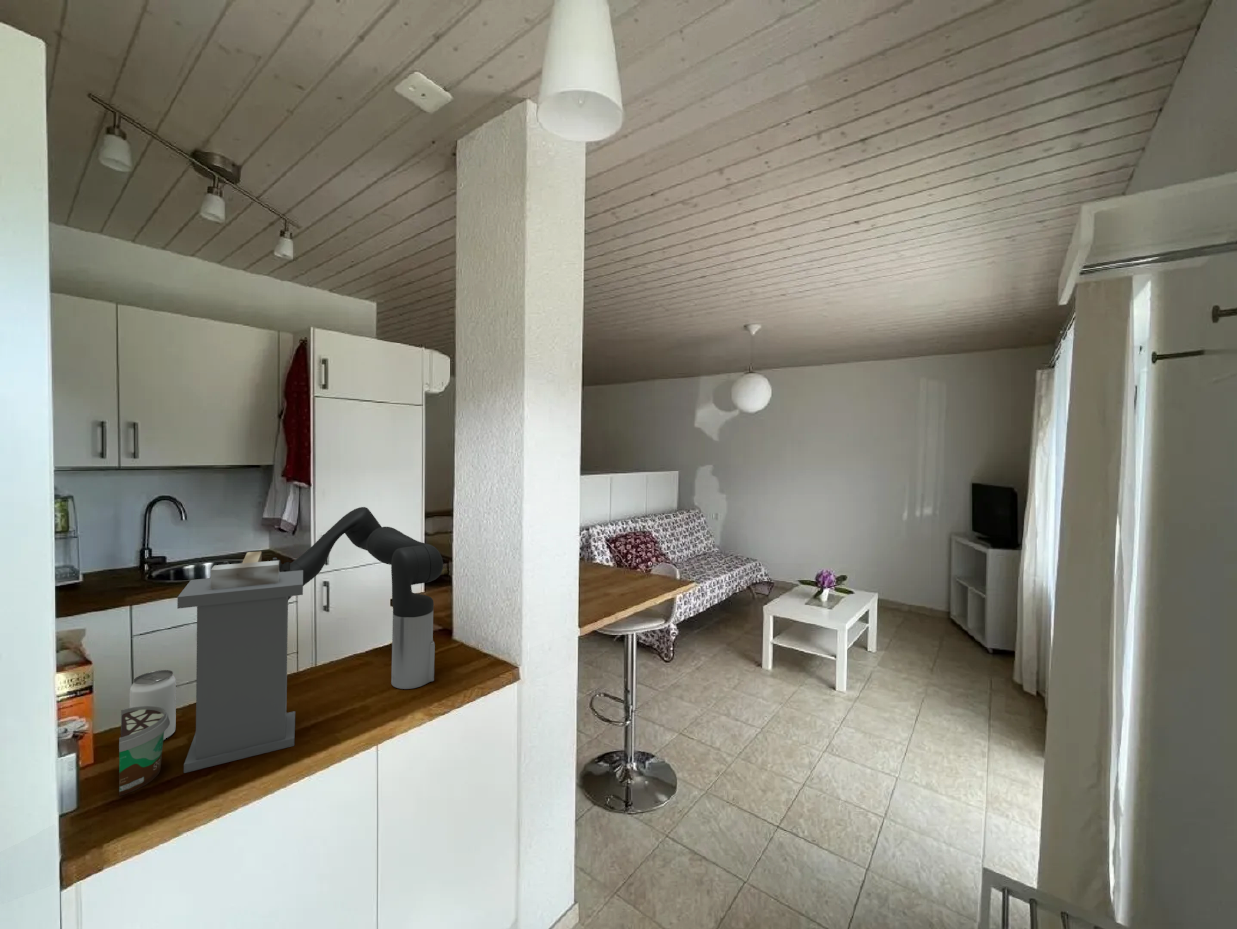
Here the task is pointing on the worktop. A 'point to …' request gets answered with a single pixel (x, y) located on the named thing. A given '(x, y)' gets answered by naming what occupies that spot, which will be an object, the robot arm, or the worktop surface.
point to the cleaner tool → (245, 572)
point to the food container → (140, 746)
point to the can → (156, 694)
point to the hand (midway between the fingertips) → (250, 563)
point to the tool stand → (240, 669)
